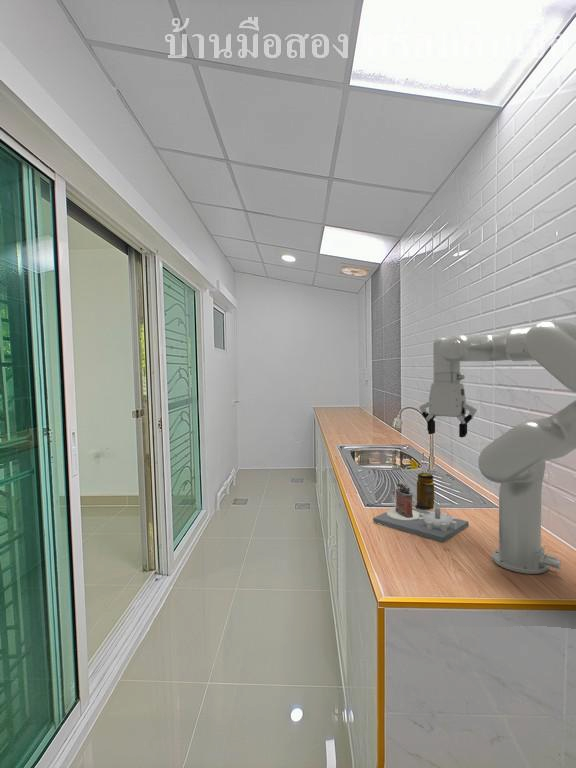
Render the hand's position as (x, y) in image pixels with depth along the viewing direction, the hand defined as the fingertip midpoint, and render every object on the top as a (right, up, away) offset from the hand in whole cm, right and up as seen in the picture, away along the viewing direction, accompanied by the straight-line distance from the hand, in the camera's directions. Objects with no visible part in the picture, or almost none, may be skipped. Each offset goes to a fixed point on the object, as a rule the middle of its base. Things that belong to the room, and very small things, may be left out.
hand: (446, 435), depth 128 cm
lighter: (-9, -28, +13) cm, 33 cm away
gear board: (-5, -30, +9) cm, 32 cm away
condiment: (+2, -30, +26) cm, 40 cm away
